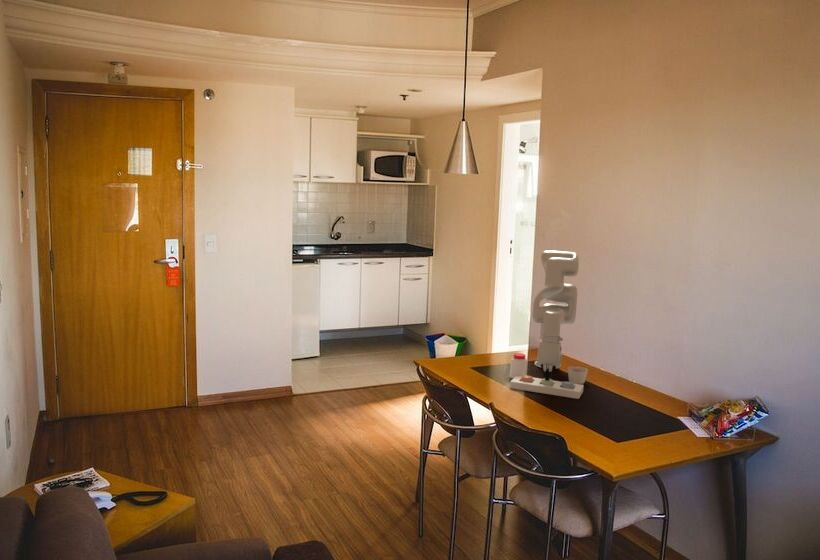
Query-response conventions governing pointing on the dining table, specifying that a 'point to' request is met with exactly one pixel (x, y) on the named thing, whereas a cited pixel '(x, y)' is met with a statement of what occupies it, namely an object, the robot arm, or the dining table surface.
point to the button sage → (547, 382)
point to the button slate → (567, 385)
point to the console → (547, 387)
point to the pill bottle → (518, 365)
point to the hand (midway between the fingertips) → (547, 379)
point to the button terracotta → (527, 378)
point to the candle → (577, 374)
